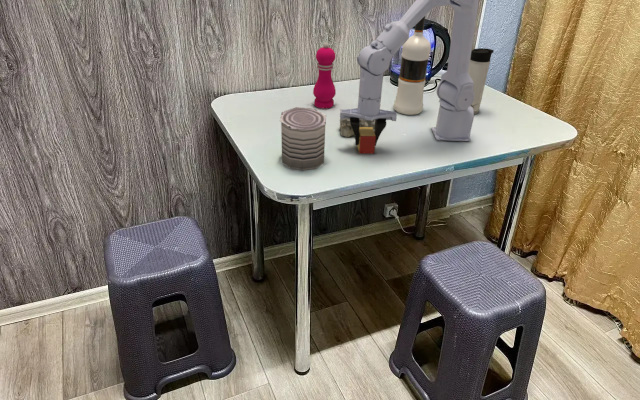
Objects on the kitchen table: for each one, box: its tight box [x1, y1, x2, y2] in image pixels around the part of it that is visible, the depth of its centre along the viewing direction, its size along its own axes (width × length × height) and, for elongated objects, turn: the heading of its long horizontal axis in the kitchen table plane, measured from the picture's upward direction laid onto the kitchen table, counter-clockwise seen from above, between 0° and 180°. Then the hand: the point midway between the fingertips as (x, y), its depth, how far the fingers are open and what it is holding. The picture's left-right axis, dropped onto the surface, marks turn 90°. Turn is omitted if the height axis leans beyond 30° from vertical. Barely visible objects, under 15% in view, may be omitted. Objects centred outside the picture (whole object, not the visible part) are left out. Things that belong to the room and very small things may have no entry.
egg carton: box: [338, 118, 375, 138], centre depth 135 cm, size 11×8×4 cm
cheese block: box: [356, 127, 376, 155], centre depth 126 cm, size 4×6×5 cm
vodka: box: [393, 15, 432, 116], centre depth 143 cm, size 9×9×30 cm
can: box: [279, 106, 327, 171], centre depth 118 cm, size 11×11×12 cm
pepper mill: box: [312, 41, 337, 109], centre depth 148 cm, size 7×7×20 cm
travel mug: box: [468, 47, 495, 115], centre depth 147 cm, size 6×7×20 cm
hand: (365, 143), depth 127 cm, fingers closed on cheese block, 4 cm apart
